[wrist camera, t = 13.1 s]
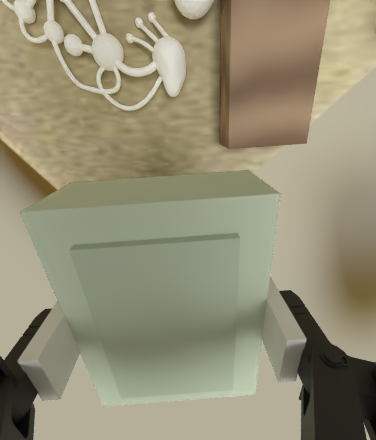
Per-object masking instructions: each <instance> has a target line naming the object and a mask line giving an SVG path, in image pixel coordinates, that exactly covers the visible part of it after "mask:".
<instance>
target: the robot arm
mask: <svg viewBox="0 0 376 440" xmlns="http://www.w3.org/2000/svg"><path fill="white" fill-rule="evenodd" d="M262 340H263V343H264V345H265V348H266V351H267V353H268V356H269V359H270V361H271V364H272V367H273V369H274V372H275V375H276V377H277V380H278V382H288V381H289V382H290V381H296V378H297V374H298V375H299V377H300V379H301V381H302V383H303V386H302V389H301V393H300V396H299V400H301V440H367V439H366V434H365V428H364V424H365V427H366V429H367V432H368V434H369V437H370V439H371V440H376V362H370V361H366V360H361V359H357V358H353V357H350V356H348V355H346V353H345V352H344V351H342V350H341V349H340V348H338V347H337V346H334V345H332V344H331V343H330V342H329V340H328V339H327V338H326V336H325V334H324V333H323V332H322V330H321V329H320V327H319V326H318V324H317V323H316V321H315V320H314V318H313V317H312V315H311V314H310V312H309V311H308V309H307V308H306V307H305V305H304V303H303V302H302V301H301V299H300V298H299V297H298V296H297V295H296V294H295V293H293V292H292V291H291V290H287V291H278V289H277V287H276V285H275V284H274V282H273V280H272V279H271V277H270V281H269V289H268V297H267V301H266V309H265V317H264V325H263V333H262ZM79 354H80V350H79V348H78V346H77V343H76V341H75V339H74V336H73V334H72V332H71V329H70V327H69V325H68V322H67V320H66V318H65V315H64V314H63V312H62V310H61V307H60V305H59V303H58V301H57V303H56V304H55V306H54V307H53V308H52V309H45V310H44V311H42V312H41V313H40V314H39V315H38V316H37V317H35V319H34V320H33V321H32V323H31V324H30V325H29V328H28V329H27V330H26V331H25V332H24V334H23V336H22V337H21V338H20V339H19V341H18V342H17V343H16V345H15V346H14V347H13V349H12V350H11V352H10V353H9V354H8V356H7V357H6V358H5V360H3V359H2V357H1V356H0V440H33V433H34V418H35V408H34V404H33V401H34V399H35V397H36V395H37V394H38V395H39V396H40V398H41V399H42V400H43V401H44V400H58V399H60V398H61V396H62V394H63V391H64V389H65V387H66V384H67V382H68V380H69V377H70V375H71V373H72V370H73V368H74V366H75V363H76V361H77V359H78V356H79ZM363 422H364V423H363Z"/></svg>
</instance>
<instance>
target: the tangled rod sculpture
mask: <svg viewBox="0 0 376 440" xmlns="http://www.w3.org/2000/svg"><path fill="white" fill-rule="evenodd" d="M36 1H37V0H15V2H14V6H13V5H12V4H11V3H10V2H8V1H7V0H2V2H3V3H4V4H5V5H6V6H7V7H8V8H10V9H11V10H13V11H15V13H16V15H17V17H18V18H19V25H20V28H21V31H22V33H23V34H24V36H25V37H26V38H27V39H28V40H29V41H31V42H33V43H37V44H38V43H43V42H45V41H46V40H48V39H49V40H50V41H51V42H52V45H53V47H54V50H55V52H56V54H57V56H58V58H59V60H60V62H61V64H62V66H63V68H64V70H65V72H66V73H67V75H68V76H69V77H70V79H71V80H72V81H73V82H74V83H75V84H76V85H77V86H78V87H80V88H82V89H84V90H87V91H90V92H94V93H99V94H103V95H104V96H105V97H106V98H107V99H108V100H109V101H110V102H111V103H112V104H113V105H115V106H117V107H118V108H120V109H122V110H126V111H133V110H137V109H139V108H141V107H142V106H144V105H145V104H146V103H147V102H148V101H149V100H150V99H151V98H152V97H153V95H154V94H155V93H156V91H157V89H158V87H159V85H160V84H161V82H162V80H163V83H164V86H165V90H166V92H167V93H168V94H169V95H170V96H171V97H175V96H177V95H178V94H179V93H180V90H181V88H182V85H183V83H184V81H185V78H186V59H185V52H184V49H183V47H182V46H181V44H180V43H179V42H178V41H177V40H176V39H174V38H172V37H169V35H168V34H167V33H166V32H165V31H164V29H163V28H162V27H161V26H160V25H159V23H158V22H157V21H156V16H155V14H154V13H153V12H150V13H149V14H148V20H149V22H150V23H153V24H154V25H155V26H156V28H157V29H158V30H159V31H160V33H161V34H162V35H163V36H164V37H163V38H160V39H158V38H157V37H156V36H155V35H154V34H152V33H151V32H150V31H149V30H148V29H147V28H146V27H145V26H144V25H143V21H142V19H141V18H140V17H137V18H136V20H135V25H136V27H138V28H141V29H142V30H143V31H144V32H145V33H146V34H147V35H148V36H149V37H150V38H152V39H153V40H154V41H155V42H156V43H155V45H154V48H153V47H152V46H151V45H149V44H148V43H146V42H145V41H143V40H141V39H139V38H136V37H133V35H132V34H131V33H128V34H126V41H127V42H128V43H133V42H137V43H139V44H141V45H143V46H145V47H146V48H147V49H149V50H150V51H151V52H152V58H153V62H151V63H150V64H149V65H147V66H146V67H141V68H132V67H128V66H127V65H125V64H124V63H123V60H124V53H123V48H122V46H121V44H120V42H119V41H118V40H117V39H116V38H115V37H114V36H113V35H111V34H107V33H106V30H105V27H104V24H103V21H102V18H101V15H100V12H99V9H98V6H97V3H96V0H89V2H90V5H91V8H92V11H93V14H94V17H95V20H96V23H97V26H98V28H99V31H100V34H99V35H97V34H96V33H95V32H94V30H93V29H92V28H91V26H90V25H89V24H88V22H87V21H86V20H85V18H84V17H83V16H82V14H81V13H80V12H79V10H78V9H77V8H76V6H75V5H74V4H73V2H72V1H71V0H60V1H61V2H63V3H65V4H66V5H67V7H68V8H69V9H70V11H71V12H72V13H73V15H74V16H75V17H76V18H77V20H78V21H79V22H80V24H81V25H82V26H83V28H84V29H85V30H86V31H87V33H88V34H89V35H90V37H91V38H92V39H93V42H92V46H89V45H85V44H83V43H82V41H81V40H80V38H79V37H78V36H76V35H74V34H68V35H67V36H65V38H64V32H63V29H62V27H61V26H60V25H59V24H58V23H57V22H55V20H54V0H46V5H47V22H45V24H44V26H43V27H44V33H45V34H44V35H43V36H40V37H38V38H35V37H31V36H30V35H29V34H28V33H27V31H26V29H25V26H24V22H25V23H28V24H31V23H33V22H34V21H35V19H36V13H35V10H34V8H33V6H34V5H35V3H36ZM174 1H175V4H176V6H177V8H178V10H179V11H180V12H181V13H182V15H183V16H185V17H187V18H189V19H199V18H201V17H203V16H204V15H205V14H206V13H207V12H208V11H209V10H210V8H211V6H212V4H213V1H214V0H174ZM63 41H64V46H65V48H66V50H67V51H68V52H69V53H70V54H71V55H73V56H80V55H81V54H82V53H83V51H84V52H88V53H92V54H93V57H94V59H95V61H96V62H97V64H98V65H99V66H100V68H99V69H98V71H97V74H96V81H97V85H98V88H95V87H91V86H87V85H84V84H82V83H80V82H79V81H78V80H77V79H76V78H75V77H74V76H73V74H72V73H71V71H70V70H69V68H68V66H67V64H66V62H65V61H64V59H63V57H62V54H61V52H60V49H59V47H58V44H60V43H61V42H63ZM118 69H119V70H120V71H122V72H123V73H125V74H127V75H129V76H134V77H142V76H146V75H149V74H151V73H152V72H154V71H155V70H156V69H157V71H158V73H159V74H160V75H159V77H158V79H157V81H156V83H155V85H154V86H153V88H152V90H151V91H150V93H149V94H148V95H147V96H146V97H145V98H144V99H143V100H142V101H141V102H139V103H138V104H136V105H133V106H125V105H121V104H119V103H118V102H117V101H115V100H114V99H112V98H111V97H110V96H109V95H108V94H113V93H115V92H117V91H118V90H119V89H120V86H121V77H120V74H119V71H118ZM105 70H107V71H114V73H115V76H116V80H117V83H116V86H115V87H114V88H112V89H104V88H103V86H102V83H101V75H102V73H103V72H104V71H105Z"/></svg>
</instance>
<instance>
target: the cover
mask: <svg viewBox="0 0 376 440" xmlns="http://www.w3.org/2000/svg"><path fill="white" fill-rule="evenodd" d="M279 202H280V193H279V192H278V191H276V190H275V189H273V188H272V187H271V186H269V185H268V184H267V183H265V182H264V181H263V180H261V179H260V178H258V177H257V176H255V175H254V174H253V173H252V172H250V171H249V170H243V171H229V172H215V173H201V174H186V175H172V176H158V177H144V178H129V179H115V180H101V181H87V182H72V183H69V184H68V185H66V186H64V187H62V188H61V189H59V190H57V191H56V192H54V193H52V194H50V195H49V196H47V197H45V198H43V199H42V200H40V201H38V202H36V203H35V204H33V205H31V206H29V207H28V208H26V209H24V210H23V211H21V212H20V214H21V216H22V218H23V221H24V223H25V226H26V228H27V230H28V233H29V235H30V237H31V239H32V242H33V244H34V247H35V249H36V251H37V254H38V256H39V258H40V260H41V263H42V265H43V268H44V270H45V272H46V275H47V277H48V279H49V281H50V284H51V286H52V289H53V291H54V293H55V296H56V298H57V300H58V303H59V305H60V307H61V310H62V312H63V314H64V315H65V318H66V320H67V322H68V325H69V327H70V329H71V332H72V334H73V336H74V339H75V341H76V343H77V346H78V348H79V350H80V354H81V356H82V358H83V361H84V363H85V365H86V368H87V370H88V372H89V375H90V377H91V379H92V382H93V384H94V386H95V388H96V391H97V393H98V396H99V398H100V400H101V403H102V405H103V406H112V405H113V406H114V405H127V404H139V403H152V402H165V401H178V400H191V399H204V398H217V397H229V396H242V395H255V391H256V383H257V376H258V367H259V359H260V352H261V344H262V333H263V325H264V317H265V309H266V301H267V297H268V289H269V281H270V273H271V265H272V257H273V249H274V241H275V234H276V226H277V218H278V210H279Z"/></svg>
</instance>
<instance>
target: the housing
mask: <svg viewBox="0 0 376 440" xmlns="http://www.w3.org/2000/svg"><path fill="white" fill-rule="evenodd" d="M329 4H330V0H220V144H221V145H223V146H225V147H226V148H228V149H234V148H248V147H263V146H277V145H292V144H306V143H307V137H308V131H309V125H310V119H311V113H312V107H313V101H314V95H315V89H316V83H317V77H318V71H319V65H320V58H321V52H322V46H323V40H324V34H325V28H326V22H327V16H328V10H329Z"/></svg>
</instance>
